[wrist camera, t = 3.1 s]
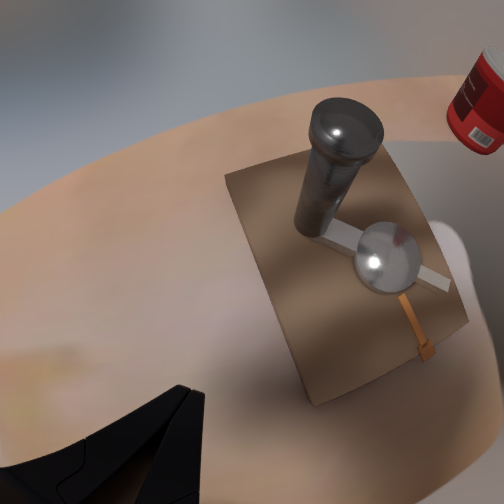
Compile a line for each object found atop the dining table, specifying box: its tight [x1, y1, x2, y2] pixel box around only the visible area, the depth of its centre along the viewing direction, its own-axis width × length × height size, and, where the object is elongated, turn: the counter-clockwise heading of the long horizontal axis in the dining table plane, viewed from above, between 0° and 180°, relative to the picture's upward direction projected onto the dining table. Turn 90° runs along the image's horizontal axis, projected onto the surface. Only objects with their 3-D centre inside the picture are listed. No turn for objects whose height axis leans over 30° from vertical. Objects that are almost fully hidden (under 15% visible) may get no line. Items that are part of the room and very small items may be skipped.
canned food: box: [447, 46, 504, 155], centre depth 22 cm, size 8×8×11 cm
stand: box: [224, 143, 469, 407], centre depth 22 cm, size 19×14×2 cm
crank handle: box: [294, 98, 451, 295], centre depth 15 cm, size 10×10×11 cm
